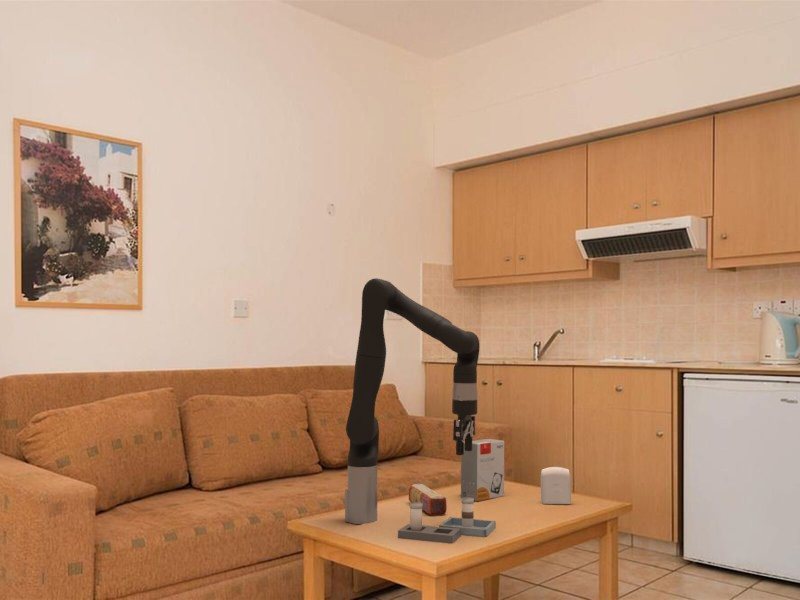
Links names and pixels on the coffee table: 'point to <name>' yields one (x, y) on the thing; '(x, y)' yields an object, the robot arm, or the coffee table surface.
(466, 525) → the cylinder
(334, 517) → the coffee table surface
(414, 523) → the fuse
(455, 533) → the fuse block
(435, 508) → the snack package
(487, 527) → the parts tray
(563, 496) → the photo printer
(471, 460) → the hard drive box
